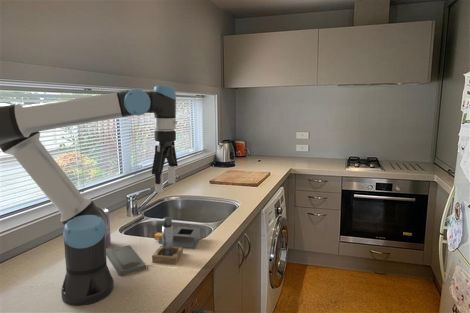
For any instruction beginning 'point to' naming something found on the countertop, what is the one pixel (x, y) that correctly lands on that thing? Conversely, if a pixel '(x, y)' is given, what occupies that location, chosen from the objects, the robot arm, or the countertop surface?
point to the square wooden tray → (161, 258)
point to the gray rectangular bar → (167, 236)
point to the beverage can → (108, 237)
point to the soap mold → (125, 260)
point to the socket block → (185, 237)
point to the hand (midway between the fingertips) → (165, 187)
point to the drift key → (158, 236)
